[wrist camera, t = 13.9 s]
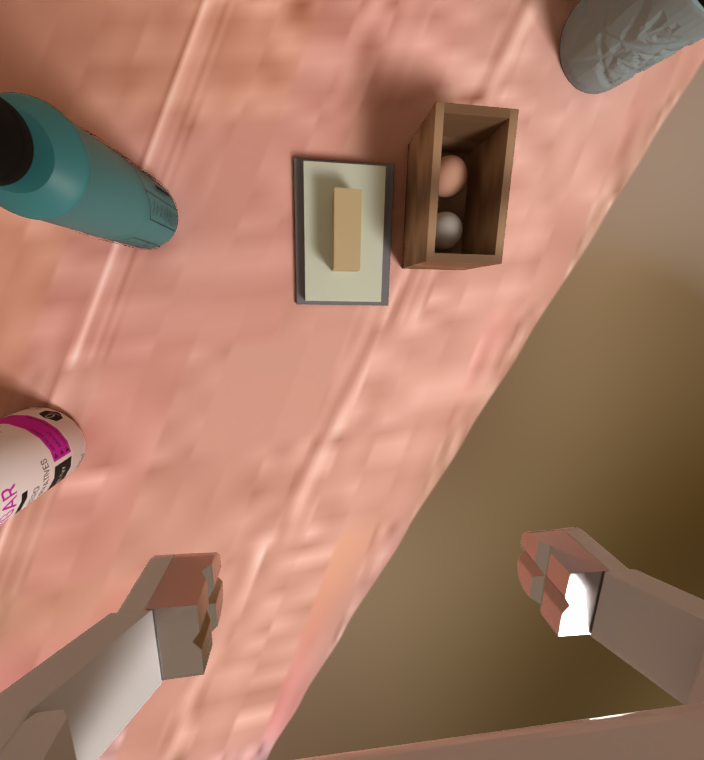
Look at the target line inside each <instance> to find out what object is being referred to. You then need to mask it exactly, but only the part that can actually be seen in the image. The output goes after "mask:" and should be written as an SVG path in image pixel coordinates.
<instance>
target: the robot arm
mask: <svg viewBox="0 0 704 760" xmlns="http://www.w3.org/2000/svg"><path fill="white" fill-rule="evenodd" d="M520 545H521V546H522V548H523V549H524V552H523V554H522V555H521V556H520V557H519V559H518V566H517V571H518V576H519V580H520V583H521V585H522V587H523V589H524V590H525V592H526V593H527V595H528V596H529V597H530V598H531V599H533V600H535V601H536V602H538V603H539V604H540V612H541V614H542V615H543V617H544V618H545V619H546V620H547V622H548V623H549V625H550V626H551V627H552V629H553V630H554V631H555V632H556V634H557V635H558V636H568V635H569V636H570V635H584V634H591V636H592V637H593V638H594V639H596V640H597V641H599V642H600V643H601V644H602V645H604V646H605V647H606V648H608V649H609V650H610V651H612V652H613V653H615V654H616V655H617V656H619V657H620V658H622V659H623V660H624V661H626V662H627V663H628V664H630V665H631V666H632V667H634V668H635V669H636V670H638V671H639V672H640V673H642V674H643V675H645V676H646V677H647V678H649V679H650V680H651V681H653V682H654V683H655V684H657V685H658V686H659V687H661V688H662V689H663V690H665V691H666V692H667V693H669V694H670V695H672V696H673V697H674V698H676V699H677V700H678V701H680V702H681V703H682V704H684V705H682V706H674V707H667V708H660V709H654V710H647V711H639V712H632V713H625V714H618V715H610V716H604V717H596V718H589V719H582V720H576V721H568V722H561V723H554V724H547V725H540V726H534V727H526V728H519V729H513V730H505V731H498V732H490V733H484V734H476V735H469V736H462V737H454V738H447V739H440V740H433V741H426V742H418V743H411V744H404V745H397V746H389V747H383V748H375V749H368V750H361V751H353V752H346V753H340V754H332V755H325V756H318V757H311V758H304V759H297V760H704V600H702V599H700V598H698V597H695V596H693V595H691V594H689V593H687V592H684V591H682V590H680V589H677V588H675V587H673V586H671V585H668V584H666V583H664V582H662V581H660V580H657V579H655V578H653V577H651V576H649V575H646V574H644V573H642V572H639V571H637V570H635V569H632V570H629V569H628V568H627V567H625V566H624V565H623V564H622V563H621V562H619V561H618V560H617V559H616V558H615V557H614V556H612V555H611V554H610V553H609V552H608V551H607V550H605V549H604V548H603V547H602V546H600V545H599V544H598V543H597V542H596V541H594V539H592V538H591V537H590V536H589V535H587V534H586V533H585V532H584V531H583V530H581V529H579V528H576V527H574V528H563V529H558V530H545V531H531V532H525V533H524V534H523V536H522V538H521V544H520ZM220 568H221V560H220V554H219V553H218V552H214V553H191V554H177V555H155V556H154V557H153V558H151V559H150V560H149V562H148V564H147V565H146V567H145V568H144V570H143V572H142V573H141V575H140V577H139V578H138V580H137V581H136V583H135V585H134V586H133V588H132V590H131V591H130V593H129V595H128V596H127V598H126V599H125V601H124V603H123V604H122V606H121V608H120V609H119V611H118V612H117V613H111V614H109V615H107V616H106V617H105V618H103V619H102V620H101V621H99V622H98V623H96V624H95V625H94V626H92V627H91V628H90V629H88V630H87V631H85V632H84V633H83V634H81V635H80V636H78V637H77V638H76V639H74V640H73V641H72V642H70V643H69V644H67V645H66V646H65V647H63V648H62V649H61V650H59V651H58V652H56V653H55V654H54V655H52V656H51V657H50V658H48V659H47V660H45V661H44V662H43V663H41V664H40V665H38V666H37V667H36V668H34V669H33V670H32V671H30V672H29V673H27V674H26V675H25V676H23V677H22V678H21V679H19V680H18V681H16V682H15V683H14V684H12V685H11V686H9V687H8V688H7V689H5V690H4V691H3V692H1V693H0V760H98V758H99V757H100V756H101V755H102V754H103V753H104V751H105V750H106V749H107V748H108V747H109V745H110V744H111V743H112V742H113V741H114V739H115V738H116V737H117V736H118V735H119V733H120V732H121V731H122V730H123V729H124V728H125V726H126V725H127V724H128V723H129V722H130V720H131V719H132V718H133V717H134V716H135V714H136V713H137V712H138V711H139V710H140V709H141V707H142V706H143V705H144V704H145V703H146V701H147V700H148V699H149V698H150V697H151V695H152V694H153V693H154V692H155V691H156V690H157V688H158V687H159V686H160V685H161V684H162V680H167V679H174V678H182V677H189V676H196V675H203V674H204V672H205V669H206V665H207V662H208V658H209V655H210V651H211V648H212V631H213V630H214V629H215V628H216V627H217V626H218V622H219V619H220V615H221V609H222V602H223V583H222V581H221V580H220V578H219V577H218V575H219V571H220Z"/></svg>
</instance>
